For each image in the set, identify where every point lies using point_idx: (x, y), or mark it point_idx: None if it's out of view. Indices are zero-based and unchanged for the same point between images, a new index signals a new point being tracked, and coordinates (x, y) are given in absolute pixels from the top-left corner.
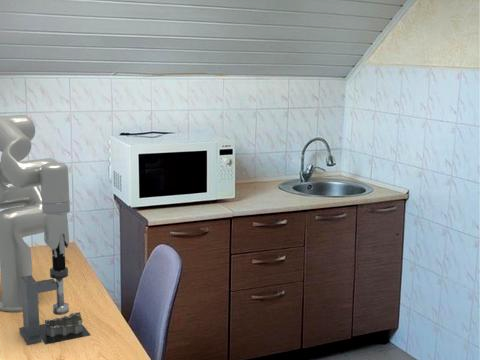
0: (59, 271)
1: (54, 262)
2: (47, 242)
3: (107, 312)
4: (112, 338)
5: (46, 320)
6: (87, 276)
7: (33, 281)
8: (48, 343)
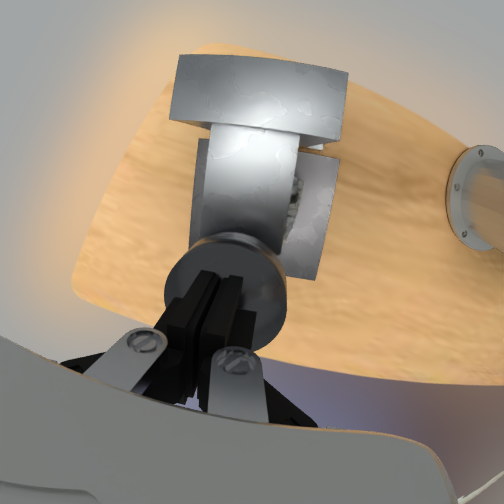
0: (172, 288)
1: (183, 303)
2: (130, 446)
3: (294, 348)
4: (148, 288)
5: (301, 185)
6: (479, 376)
7: (209, 106)
8: (198, 148)
